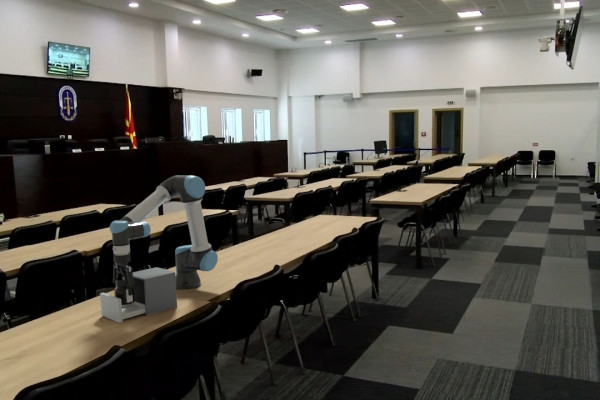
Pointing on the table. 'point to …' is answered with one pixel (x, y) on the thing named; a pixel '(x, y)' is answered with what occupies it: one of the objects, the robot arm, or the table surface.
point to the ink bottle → (122, 291)
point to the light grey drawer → (119, 308)
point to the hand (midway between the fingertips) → (124, 299)
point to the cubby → (155, 289)
